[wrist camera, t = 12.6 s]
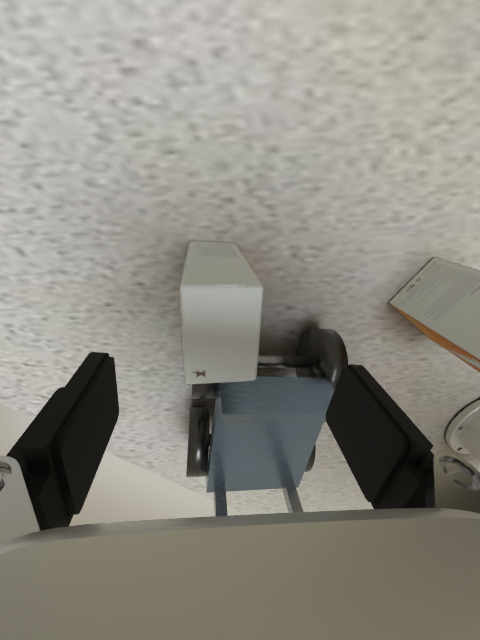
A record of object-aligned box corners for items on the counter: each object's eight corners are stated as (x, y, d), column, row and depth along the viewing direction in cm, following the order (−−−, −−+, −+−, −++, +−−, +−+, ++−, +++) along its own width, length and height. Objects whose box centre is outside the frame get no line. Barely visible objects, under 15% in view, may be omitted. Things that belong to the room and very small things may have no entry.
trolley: (323, 317, 28) (579, 596, 9) (287, 433, 36) (382, 710, 17) (196, 308, 25) (181, 663, 7) (188, 435, 33) (170, 759, 14)
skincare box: (234, 302, 26) (257, 384, 15) (190, 303, 25) (182, 388, 14) (237, 239, 23) (266, 285, 12) (188, 238, 22) (175, 285, 12)
